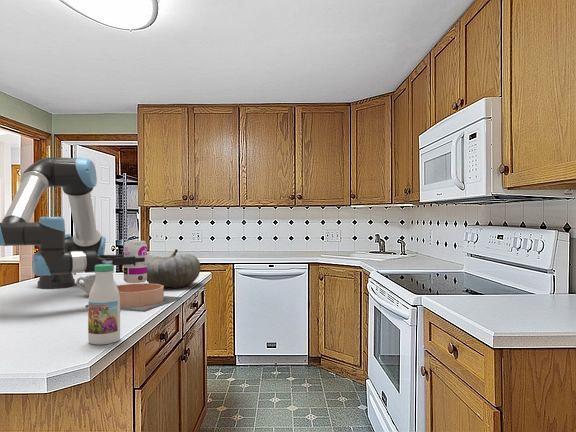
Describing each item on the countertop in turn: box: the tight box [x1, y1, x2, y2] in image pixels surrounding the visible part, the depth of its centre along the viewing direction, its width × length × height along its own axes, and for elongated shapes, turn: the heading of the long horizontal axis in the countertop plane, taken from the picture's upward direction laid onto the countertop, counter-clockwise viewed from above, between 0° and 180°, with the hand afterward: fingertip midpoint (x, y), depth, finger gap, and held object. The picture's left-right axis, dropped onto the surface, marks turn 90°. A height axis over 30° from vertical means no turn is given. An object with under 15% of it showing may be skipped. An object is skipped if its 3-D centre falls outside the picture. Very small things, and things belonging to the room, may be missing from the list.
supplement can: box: [123, 240, 148, 284], centre depth 168 cm, size 8×8×15 cm
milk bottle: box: [87, 264, 121, 346], centre depth 118 cm, size 8×8×20 cm
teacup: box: [75, 274, 96, 296], centre depth 182 cm, size 14×11×8 cm
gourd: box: [146, 248, 202, 289], centre depth 204 cm, size 25×25×17 cm
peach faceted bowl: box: [85, 282, 182, 313], centre depth 168 cm, size 24×24×6 cm
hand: (147, 257), depth 171 cm, fingers closed on supplement can, 8 cm apart
